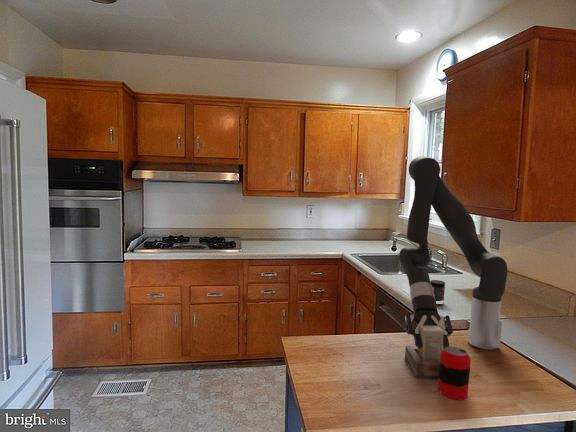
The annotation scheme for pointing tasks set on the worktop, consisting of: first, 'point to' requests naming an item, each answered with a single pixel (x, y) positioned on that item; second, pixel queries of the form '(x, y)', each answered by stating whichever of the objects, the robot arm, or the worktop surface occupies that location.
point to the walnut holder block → (421, 364)
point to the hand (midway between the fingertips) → (432, 348)
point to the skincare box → (430, 343)
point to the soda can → (454, 373)
